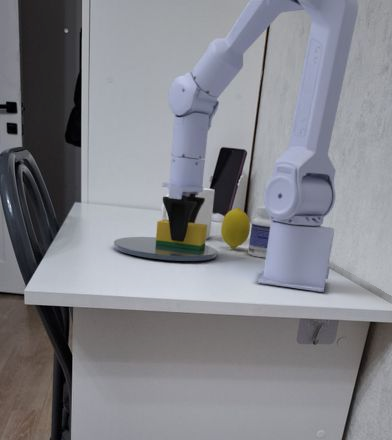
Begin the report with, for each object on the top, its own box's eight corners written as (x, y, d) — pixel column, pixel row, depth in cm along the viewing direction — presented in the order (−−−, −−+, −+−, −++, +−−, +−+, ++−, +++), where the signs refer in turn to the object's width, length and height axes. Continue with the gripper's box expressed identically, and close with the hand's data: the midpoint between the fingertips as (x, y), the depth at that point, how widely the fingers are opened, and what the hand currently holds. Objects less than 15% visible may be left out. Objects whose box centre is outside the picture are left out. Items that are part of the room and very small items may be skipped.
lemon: (236, 246, 111) (241, 206, 108) (252, 251, 106) (258, 210, 104) (213, 246, 108) (218, 205, 105) (229, 251, 103) (234, 208, 101)
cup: (217, 239, 117) (222, 191, 113) (170, 240, 110) (174, 188, 106) (194, 233, 123) (199, 186, 120) (149, 233, 116) (152, 183, 113)
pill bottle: (274, 259, 100) (281, 210, 97) (246, 255, 101) (252, 206, 98) (276, 255, 105) (283, 208, 102) (249, 251, 106) (255, 204, 103)
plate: (223, 252, 103) (224, 245, 102) (204, 268, 86) (205, 260, 85) (132, 239, 106) (133, 233, 105) (97, 253, 89) (97, 245, 88)
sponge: (205, 247, 98) (207, 224, 97) (199, 250, 94) (202, 227, 93) (162, 241, 99) (164, 219, 98) (155, 244, 95) (157, 221, 94)
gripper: (175, 156, 99) (169, 231, 104) (153, 154, 86) (147, 241, 90) (213, 160, 98) (205, 236, 103) (196, 159, 85) (188, 246, 89)
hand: (181, 239), depth 96 cm, fingers closed on sponge, 4 cm apart
